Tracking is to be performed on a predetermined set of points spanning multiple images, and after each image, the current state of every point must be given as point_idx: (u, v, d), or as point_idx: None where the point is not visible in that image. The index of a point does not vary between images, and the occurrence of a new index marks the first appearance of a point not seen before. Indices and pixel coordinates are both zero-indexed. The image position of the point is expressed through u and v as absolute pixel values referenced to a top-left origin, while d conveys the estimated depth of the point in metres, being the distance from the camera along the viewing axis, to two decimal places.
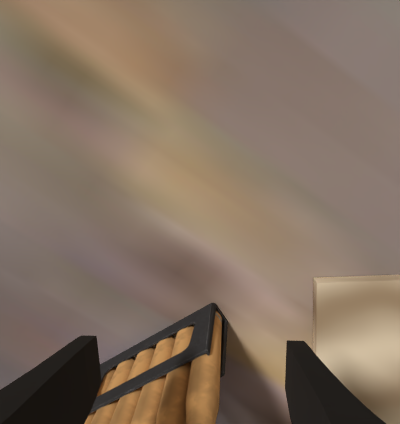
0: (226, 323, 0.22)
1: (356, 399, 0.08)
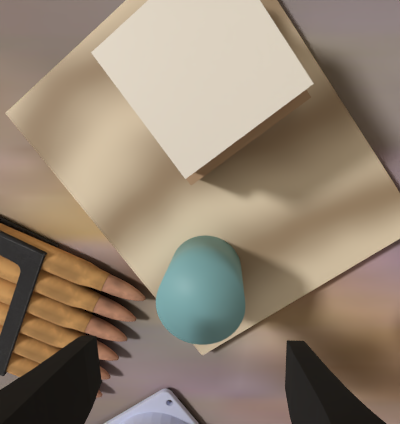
0: None
1: (356, 399, 0.08)
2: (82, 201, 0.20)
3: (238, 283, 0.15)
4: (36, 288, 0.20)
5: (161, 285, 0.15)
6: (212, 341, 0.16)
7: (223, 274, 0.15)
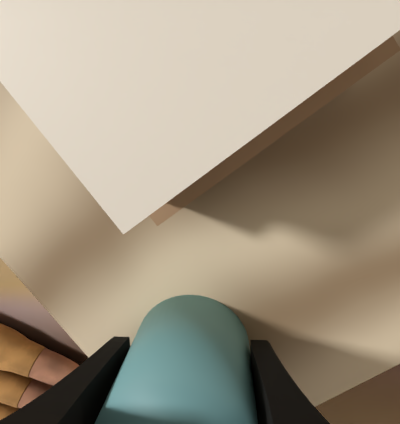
0: None
1: (303, 397, 0.08)
2: None
3: (248, 420, 0.08)
4: None
5: (99, 420, 0.08)
6: None
7: (220, 405, 0.08)
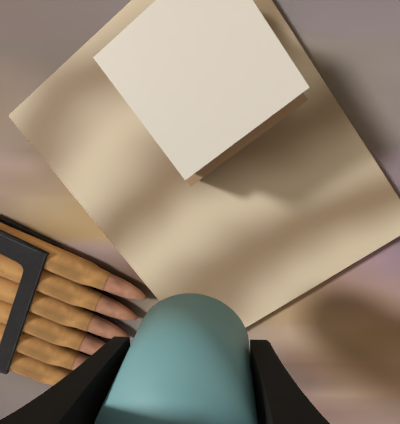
0: None
1: (303, 397, 0.08)
2: (84, 202, 0.20)
3: (247, 417, 0.08)
4: (39, 287, 0.21)
5: (100, 417, 0.08)
6: None
7: (219, 402, 0.08)
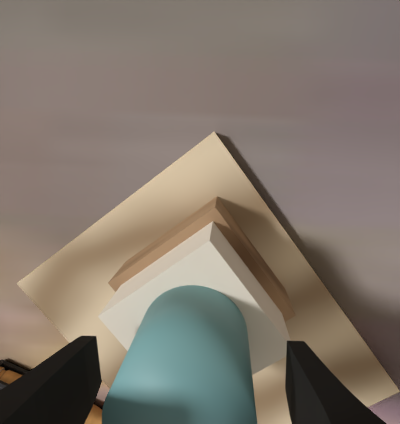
0: (5, 362, 0.22)
1: (356, 399, 0.08)
2: None
3: (246, 395, 0.09)
4: None
5: (110, 394, 0.09)
6: None
7: (220, 380, 0.08)
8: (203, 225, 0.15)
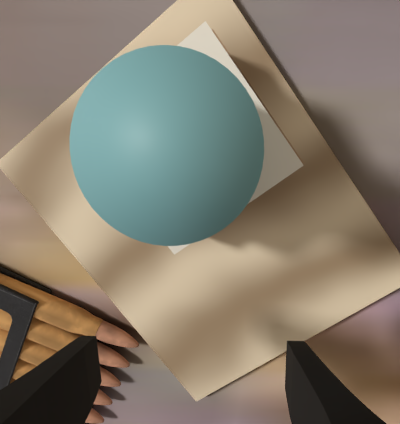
0: None
1: (356, 399, 0.08)
2: (74, 250, 0.19)
3: (249, 96, 0.07)
4: (28, 336, 0.20)
5: (79, 108, 0.07)
6: (192, 238, 0.08)
7: (216, 71, 0.07)
8: None
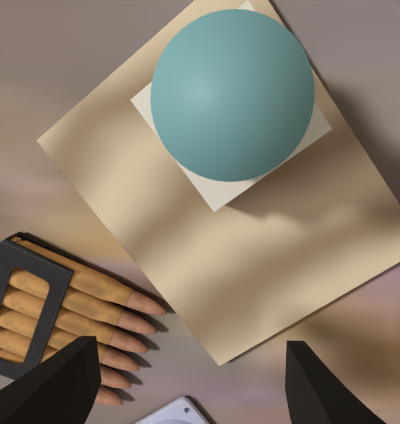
0: (22, 233, 0.22)
1: (356, 399, 0.08)
2: (107, 222, 0.21)
3: (303, 52, 0.08)
4: (63, 303, 0.21)
5: (160, 63, 0.09)
6: (251, 174, 0.09)
7: (277, 30, 0.08)
8: None
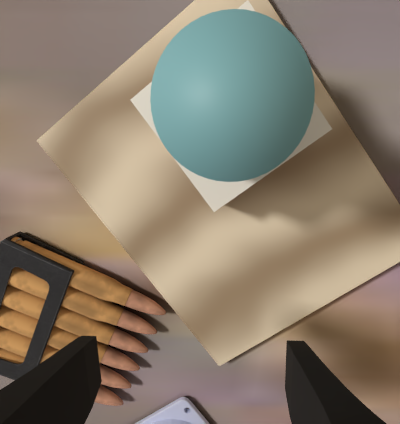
0: (22, 233, 0.22)
1: (356, 399, 0.08)
2: (107, 222, 0.21)
3: (303, 52, 0.08)
4: (63, 303, 0.21)
5: (160, 63, 0.09)
6: (251, 174, 0.09)
7: (277, 30, 0.08)
8: None
